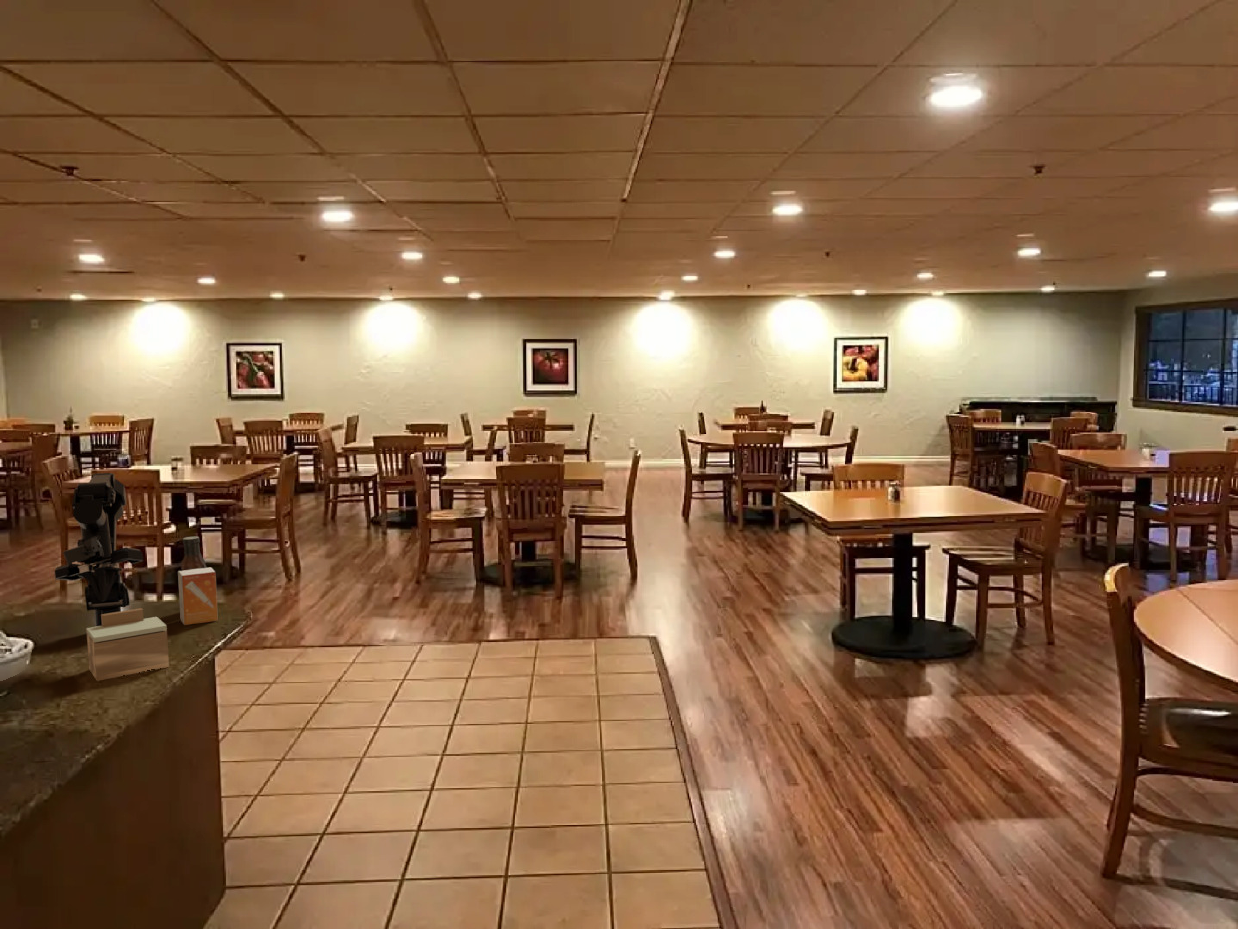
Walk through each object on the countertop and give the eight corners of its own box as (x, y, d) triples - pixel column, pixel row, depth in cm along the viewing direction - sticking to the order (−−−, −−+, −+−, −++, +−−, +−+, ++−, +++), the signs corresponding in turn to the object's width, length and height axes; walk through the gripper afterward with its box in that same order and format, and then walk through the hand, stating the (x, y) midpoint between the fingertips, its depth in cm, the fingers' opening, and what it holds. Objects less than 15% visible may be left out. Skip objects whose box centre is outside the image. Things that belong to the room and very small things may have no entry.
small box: (184, 626, 236) (181, 575, 235) (180, 620, 241) (177, 570, 240) (218, 621, 241) (215, 571, 239) (213, 615, 246) (211, 566, 244)
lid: (86, 632, 203) (85, 616, 202) (157, 621, 211) (156, 605, 211) (94, 642, 196) (93, 626, 195) (166, 630, 204) (165, 614, 204)
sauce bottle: (215, 608, 252) (211, 536, 250) (198, 615, 246) (193, 540, 244) (196, 606, 254) (191, 534, 252) (178, 612, 248) (173, 539, 246)
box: (89, 669, 204) (86, 634, 203) (159, 656, 212) (157, 622, 211) (97, 680, 197) (94, 643, 196) (169, 666, 205) (166, 631, 204)
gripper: (32, 541, 210) (39, 610, 206) (107, 519, 207) (115, 588, 204) (69, 546, 220) (76, 611, 217) (140, 526, 218) (148, 591, 214)
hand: (103, 601), depth 213 cm, fingers closed
